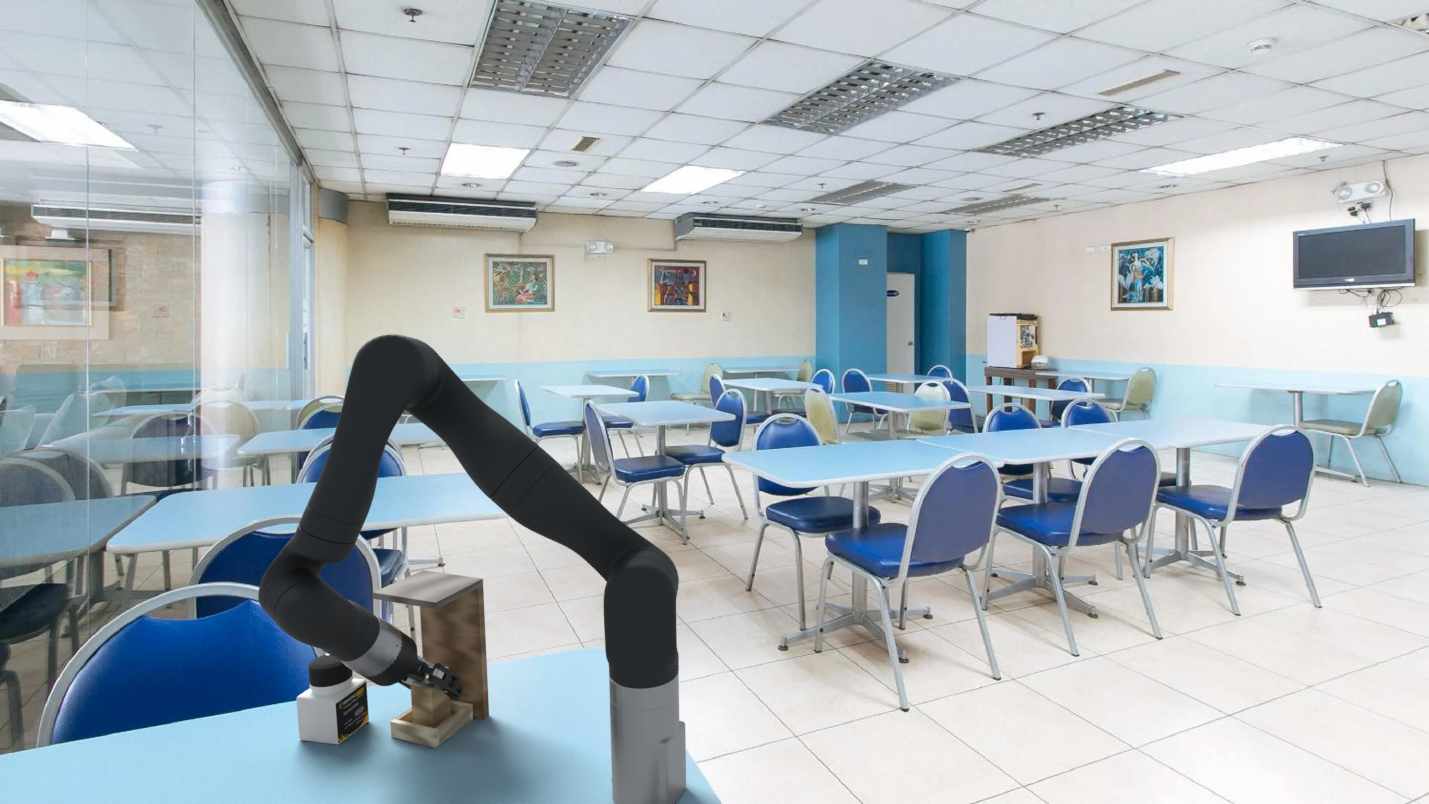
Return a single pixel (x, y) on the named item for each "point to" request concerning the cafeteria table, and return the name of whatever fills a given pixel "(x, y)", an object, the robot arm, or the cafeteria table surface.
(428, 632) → the awning socket
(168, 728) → the cafeteria table surface
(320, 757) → the cafeteria table surface
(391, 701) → the cafeteria table surface
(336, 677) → the medicine bottle
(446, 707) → the peg
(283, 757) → the cafeteria table surface
